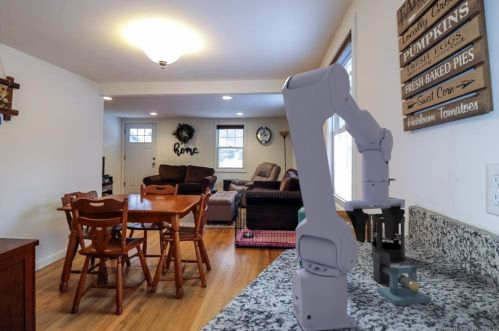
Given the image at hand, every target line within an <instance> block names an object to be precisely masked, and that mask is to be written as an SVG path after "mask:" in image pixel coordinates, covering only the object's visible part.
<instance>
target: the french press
mask: <svg viewBox="0 0 499 331" xmlns="http://www.w3.org/2000/svg"><path fill="white" fill-rule="evenodd" d="M391 181H396V178H389V186H390V185H391ZM389 199H398V198H396V197H391V196H389ZM368 214H369V215H368V218H367V222H366V242H367V243H368V244H370V245H371V253H370V256H371V258H373V251H385V252H387V253H389V254H390V263H402V262H405V261H406V260H407V256H406V245H405V239H406V238H405V233H406V232H405V225H406V224H405V223H406V216H405V215H404V216H403V217H402V219H401V220H400V222H399V224H398V227H397V230H396V233H395V237H394V240H389V239H386V238H385V234H384V231H383V230H384V229H383V228H384V227H383V226H384V219H383V214H382V213H368Z"/></svg>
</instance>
